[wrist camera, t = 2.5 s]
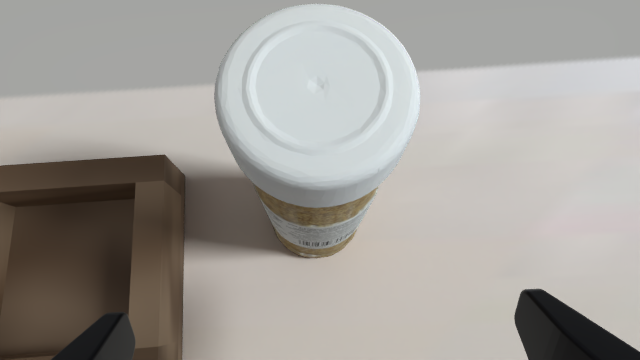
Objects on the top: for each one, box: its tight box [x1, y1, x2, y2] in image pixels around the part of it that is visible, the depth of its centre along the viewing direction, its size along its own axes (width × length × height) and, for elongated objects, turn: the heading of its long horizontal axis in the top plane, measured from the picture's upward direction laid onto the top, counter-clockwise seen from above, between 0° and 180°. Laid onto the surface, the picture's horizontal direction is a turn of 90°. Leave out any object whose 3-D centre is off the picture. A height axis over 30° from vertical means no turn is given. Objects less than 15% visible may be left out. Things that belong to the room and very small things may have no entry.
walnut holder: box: [0, 155, 185, 360], centre depth 19 cm, size 10×10×3 cm
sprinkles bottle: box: [214, 4, 420, 258], centre depth 15 cm, size 5×5×13 cm
